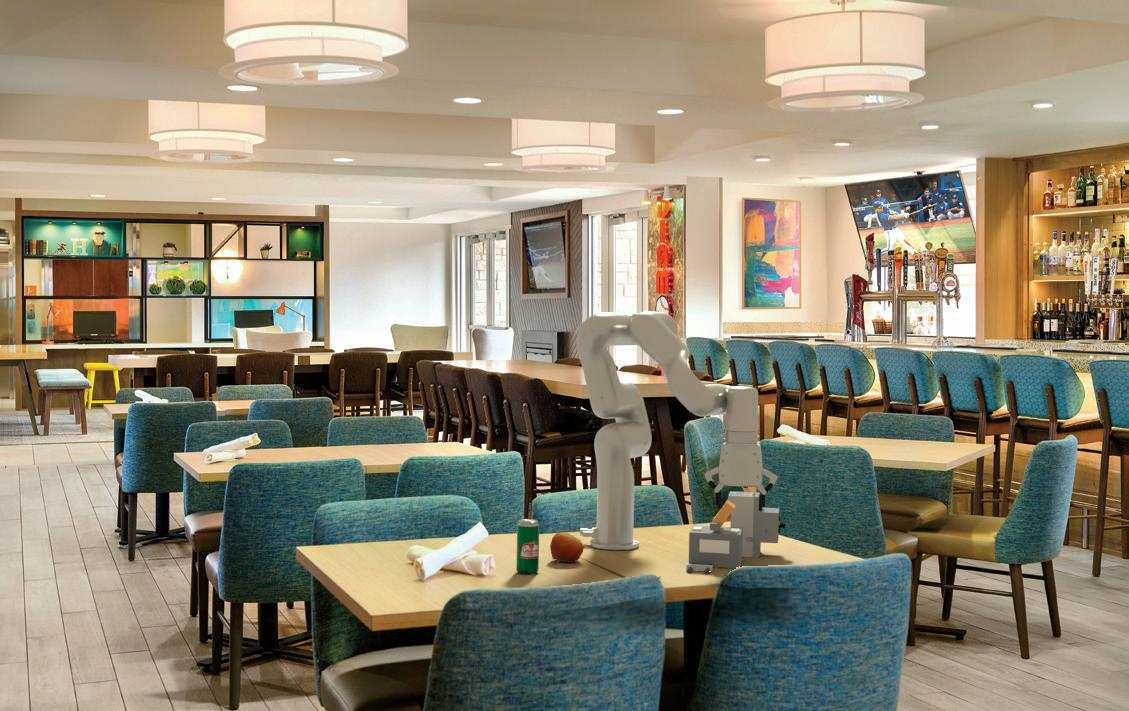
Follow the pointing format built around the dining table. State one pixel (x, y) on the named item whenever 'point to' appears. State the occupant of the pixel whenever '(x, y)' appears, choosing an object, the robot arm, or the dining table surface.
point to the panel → (716, 545)
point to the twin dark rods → (698, 567)
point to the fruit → (566, 547)
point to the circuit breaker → (754, 522)
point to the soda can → (527, 546)
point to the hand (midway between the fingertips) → (740, 509)
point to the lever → (724, 513)
